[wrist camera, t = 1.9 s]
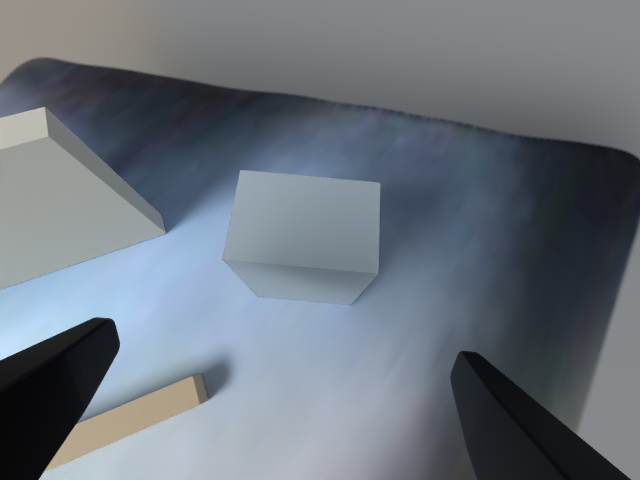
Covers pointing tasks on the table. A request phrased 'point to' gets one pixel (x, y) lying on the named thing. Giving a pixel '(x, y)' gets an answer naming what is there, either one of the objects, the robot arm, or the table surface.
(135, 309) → the table surface
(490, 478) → the robot arm
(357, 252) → the pale grey square box
